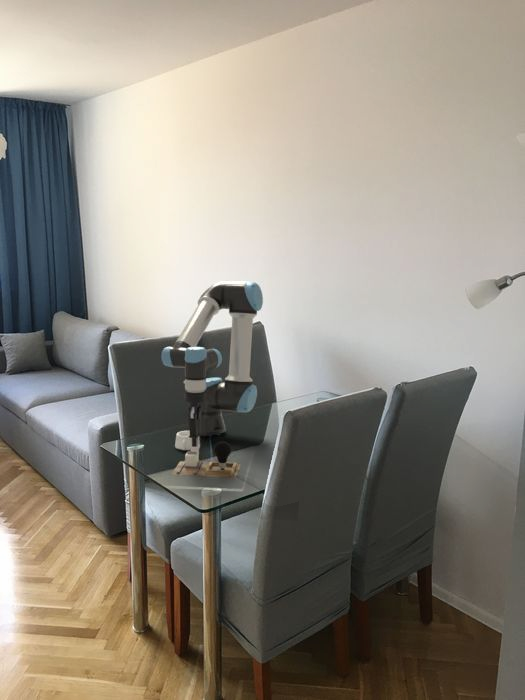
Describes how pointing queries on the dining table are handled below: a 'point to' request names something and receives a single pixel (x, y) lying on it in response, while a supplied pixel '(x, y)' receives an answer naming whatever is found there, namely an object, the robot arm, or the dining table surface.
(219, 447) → the light bulb
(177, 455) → the dining table surface
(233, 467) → the wooden tray
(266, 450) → the dining table surface
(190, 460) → the white block
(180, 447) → the mug
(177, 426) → the dining table surface
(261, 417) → the dining table surface
